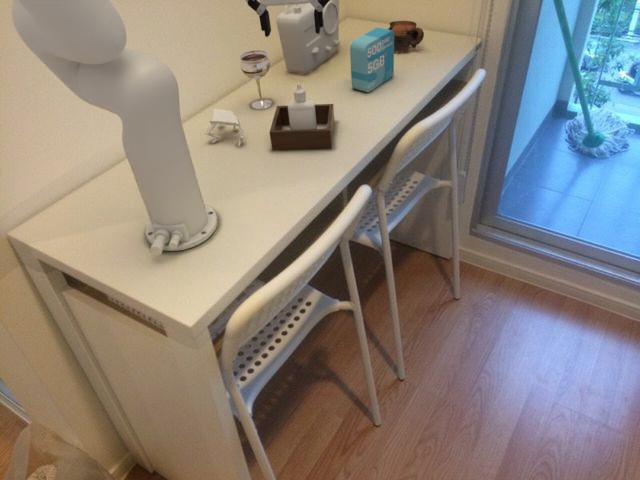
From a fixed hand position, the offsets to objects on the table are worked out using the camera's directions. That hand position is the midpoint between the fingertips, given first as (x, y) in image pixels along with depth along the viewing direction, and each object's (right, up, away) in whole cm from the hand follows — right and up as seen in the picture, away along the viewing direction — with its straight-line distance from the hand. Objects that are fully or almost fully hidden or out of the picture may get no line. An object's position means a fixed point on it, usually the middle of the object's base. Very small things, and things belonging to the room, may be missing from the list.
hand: (293, 32), depth 101 cm
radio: (+4, +10, +45) cm, 46 cm away
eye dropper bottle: (+2, -17, +15) cm, 23 cm away
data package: (+18, 0, +32) cm, 37 cm away
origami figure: (-15, -17, +17) cm, 28 cm away
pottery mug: (+29, +14, +48) cm, 58 cm away
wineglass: (-9, -7, +28) cm, 31 cm away
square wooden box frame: (+2, -17, +15) cm, 23 cm away
